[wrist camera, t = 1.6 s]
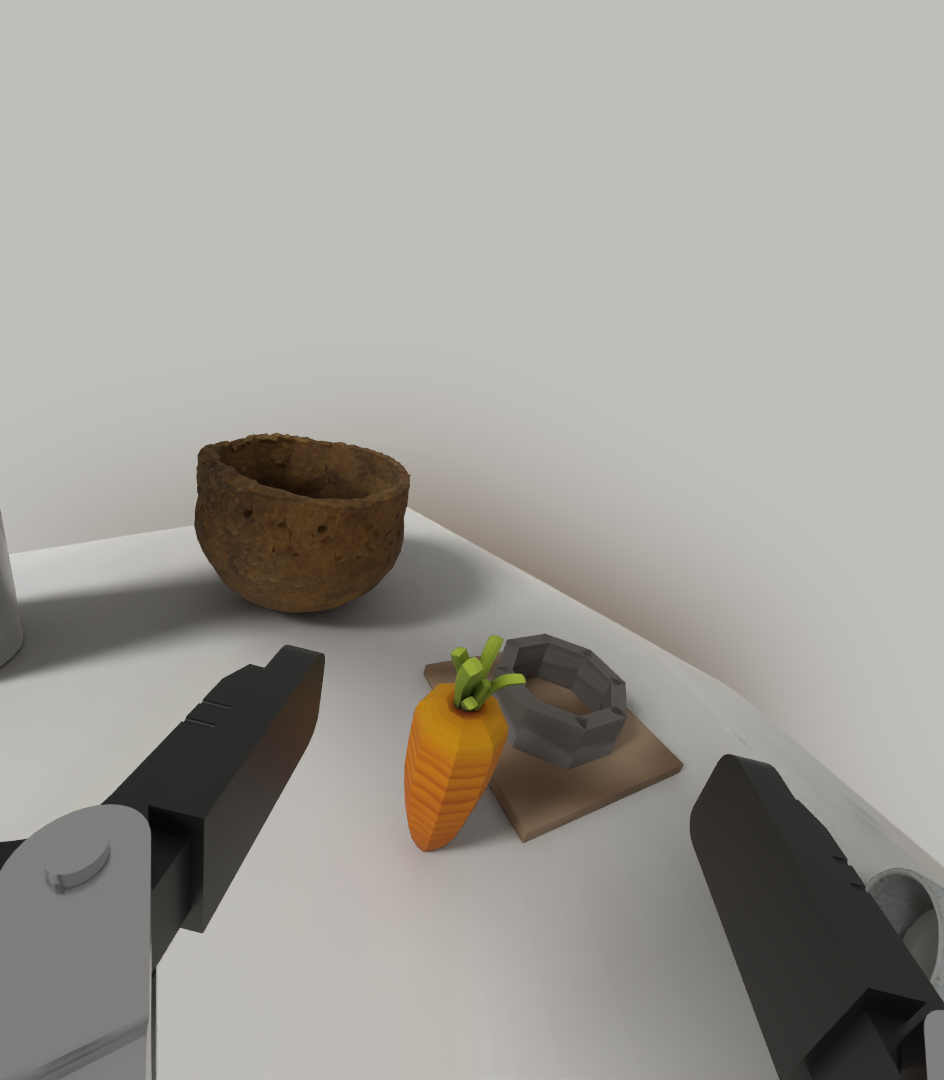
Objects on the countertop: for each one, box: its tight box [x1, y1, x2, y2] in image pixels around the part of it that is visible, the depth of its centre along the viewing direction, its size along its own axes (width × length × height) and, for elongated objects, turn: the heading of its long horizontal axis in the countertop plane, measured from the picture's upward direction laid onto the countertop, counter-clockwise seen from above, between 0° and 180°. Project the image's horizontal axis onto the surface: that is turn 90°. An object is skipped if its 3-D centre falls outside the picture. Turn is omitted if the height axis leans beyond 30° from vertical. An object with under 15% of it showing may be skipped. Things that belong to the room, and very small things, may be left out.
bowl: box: [194, 433, 410, 613], centre depth 45 cm, size 19×19×15 cm
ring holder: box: [424, 634, 683, 843], centre depth 38 cm, size 16×16×5 cm
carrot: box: [404, 636, 526, 852], centre depth 25 cm, size 5×5×15 cm
